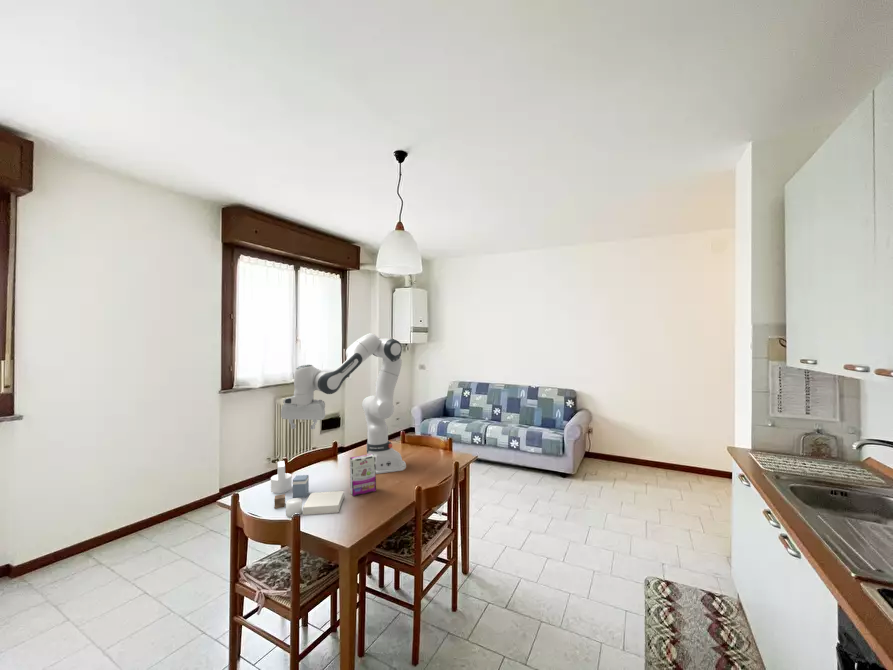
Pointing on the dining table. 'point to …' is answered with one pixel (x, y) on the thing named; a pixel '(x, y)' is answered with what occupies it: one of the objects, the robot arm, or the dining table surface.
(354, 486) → the candy bar box
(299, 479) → the carton
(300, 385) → the robot arm
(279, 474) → the base with upright slab
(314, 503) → the podium
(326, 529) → the dining table surface
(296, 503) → the white rounded block
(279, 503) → the walnut block
